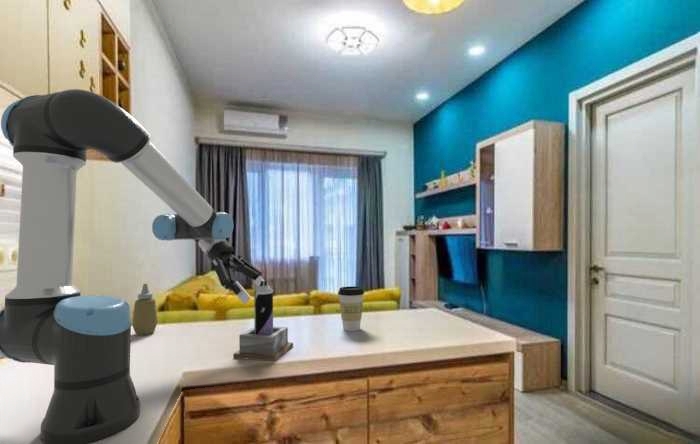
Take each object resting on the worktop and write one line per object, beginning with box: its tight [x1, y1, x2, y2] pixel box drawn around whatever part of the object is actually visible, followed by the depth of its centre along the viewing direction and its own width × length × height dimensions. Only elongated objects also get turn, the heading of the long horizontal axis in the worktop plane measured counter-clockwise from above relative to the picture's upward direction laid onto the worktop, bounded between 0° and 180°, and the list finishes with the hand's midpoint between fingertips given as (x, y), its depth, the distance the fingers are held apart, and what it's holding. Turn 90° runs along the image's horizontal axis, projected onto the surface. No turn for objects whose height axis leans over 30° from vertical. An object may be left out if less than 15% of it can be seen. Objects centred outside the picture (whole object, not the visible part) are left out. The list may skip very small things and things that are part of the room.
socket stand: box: [232, 326, 294, 362], centre depth 107 cm, size 13×13×6 cm
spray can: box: [253, 280, 274, 335], centre depth 107 cm, size 6×6×20 cm
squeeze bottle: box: [131, 283, 158, 336], centre depth 130 cm, size 8×8×18 cm
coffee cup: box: [337, 285, 365, 332], centre depth 132 cm, size 10×10×15 cm
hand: (259, 297), depth 109 cm, fingers open, 13 cm apart
